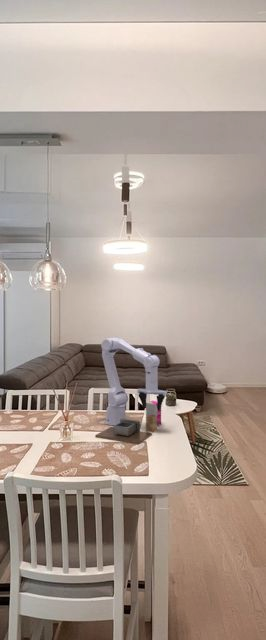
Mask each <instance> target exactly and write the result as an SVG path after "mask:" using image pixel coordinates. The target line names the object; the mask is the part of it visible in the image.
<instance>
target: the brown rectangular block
mask: <svg viewBox="0 0 266 640" xmlns="http://www.w3.org/2000/svg"><path fill="white" fill-rule="evenodd" d="M157 431H158V426H157V416H156V415H148V416H146V415H145V432H149V433H155V432H157Z"/></svg>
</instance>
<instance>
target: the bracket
mask: <svg viewBox="0 0 266 640" xmlns="http://www.w3.org/2000/svg"><path fill="white" fill-rule="evenodd" d="M140 426H141V424H140V420H134V419H128V418H125V419H120V423H118V424H116V425H113V426H110V427H108V428H105V429H104V430H103V431H101V432H99V433H96V434H95V435H94V436H95V438H99V439H102V440H103V439H104V440H110V441H115V442H122V443H125V444H127V443H128V444H134V445H140V444H141V443H142V442H143V443H144V441H145V440H147V439H148V438H150V437H151V436H153V432H147V431H141V427H140Z"/></svg>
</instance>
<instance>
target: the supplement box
mask: <svg viewBox="0 0 266 640" xmlns="http://www.w3.org/2000/svg"><path fill="white" fill-rule="evenodd" d="M148 415H156V416H157V427H158V426H160V425H162V409H161V410H159V411H158V403H157V400H156V401H155V400H151V401H146V408H145V417H146V416H148Z"/></svg>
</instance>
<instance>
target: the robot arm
mask: <svg viewBox="0 0 266 640" xmlns="http://www.w3.org/2000/svg"><path fill="white" fill-rule="evenodd" d="M100 347H101V350H102V351H101V357H102V358H101V359H102V361H103V365H104V369H105V373H106V377H107V381H108V384H109V388H110V389H109V390H108V393H107V397H108V398H107V402H108V403H107V404H108V406H107V407H106V411H105V417H106V418H105V421H106V422H105V425H109V426H114V425H116V424H118V423H120V419H126V406H127V403H128V402H129V395H128V393H127V392H126V390H125V388H124V387H122V385H121V382H120V378H119V374H118V371H117V366H116V363H115V359H114V356H115V354H116V353H117V352H118V351H119V350H122V351H124V352H126V353H129V354H130V355H132V357H133V359H134V360H135V361H138V362H140V364H143V368H144V371H145V388H137V390H136V392H137V394H138V398H139V400H140V402H141V405H142V409H143V410H146V403H147V396H148V395H156V402H157V403H158V411H159V410H161V411H162V405H163V402H164V400H165V397H166V396H167V393H168V392H167V390H162V389H159V388H158V386H159V383H158V380H159V379H158V377H159V376H158V373H159V371H158V367H159V365H160V363H161V362H160V361H161V360H160V358H159V357H158V356H157V355H156V354H153V355H152V354H151V353H150V352H147V351H145V350H144V348H143V347H141V348H140V347H139V348H135V347H134V346H132V345H131V344H129V343H128V342H126V341H125V340H124V339H123V338H120V337H118V336H116V337H110V338H109V337H105V338H104V339H103V340H102V342H101V343H100Z"/></svg>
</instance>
